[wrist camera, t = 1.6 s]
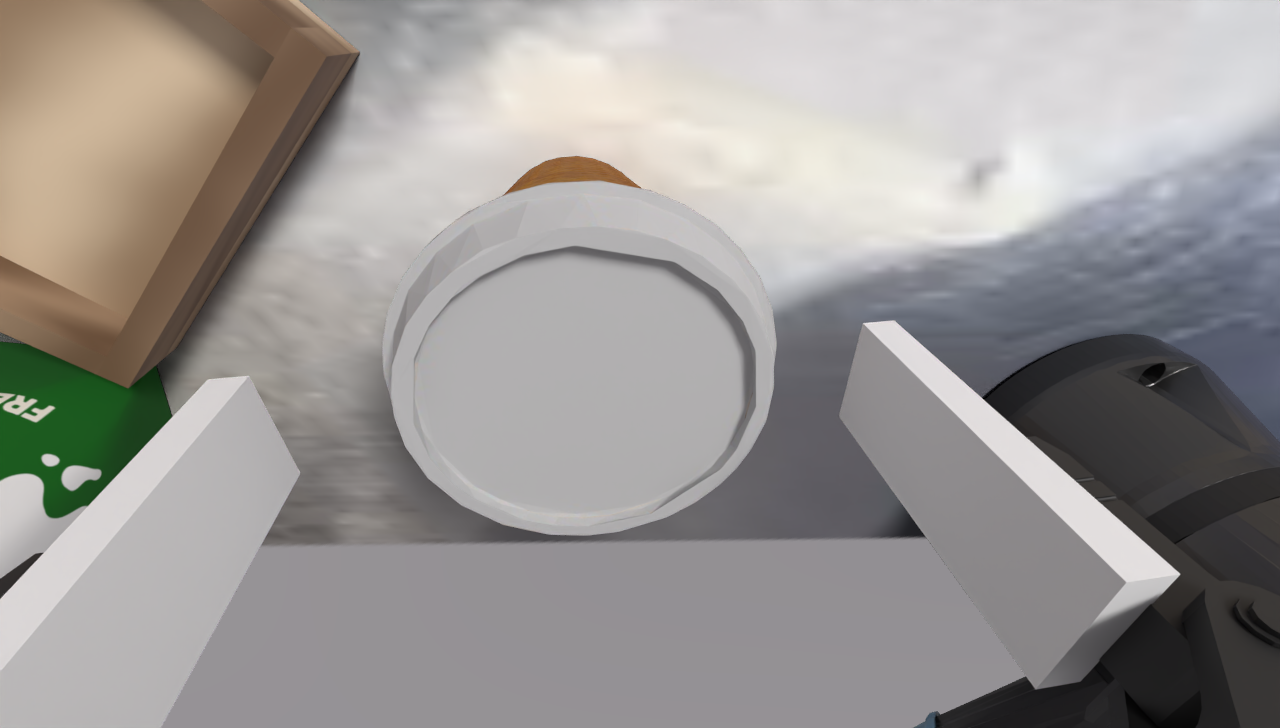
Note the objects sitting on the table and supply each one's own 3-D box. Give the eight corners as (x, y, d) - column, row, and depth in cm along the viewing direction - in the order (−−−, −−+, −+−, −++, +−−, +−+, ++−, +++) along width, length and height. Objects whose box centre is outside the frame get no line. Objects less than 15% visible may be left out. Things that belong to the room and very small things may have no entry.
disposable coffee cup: (497, 350, 24) (455, 576, 14) (421, 133, 19) (271, 252, 9) (696, 313, 25) (791, 508, 15) (676, 89, 19) (803, 155, 9)
